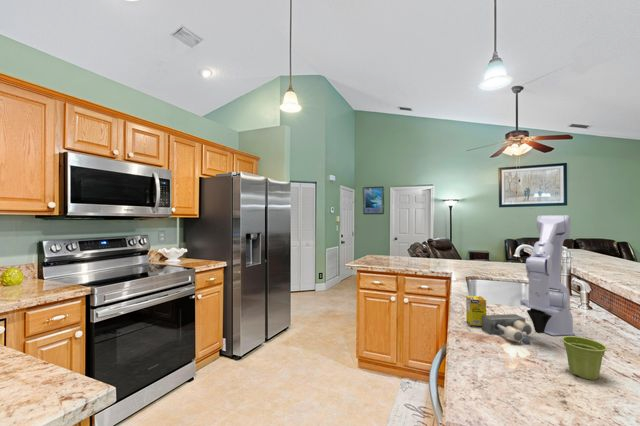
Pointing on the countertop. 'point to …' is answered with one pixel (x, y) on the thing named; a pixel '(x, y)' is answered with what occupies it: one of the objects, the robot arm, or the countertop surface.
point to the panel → (503, 320)
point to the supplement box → (475, 310)
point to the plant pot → (584, 356)
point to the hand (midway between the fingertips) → (539, 332)
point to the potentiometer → (525, 339)
